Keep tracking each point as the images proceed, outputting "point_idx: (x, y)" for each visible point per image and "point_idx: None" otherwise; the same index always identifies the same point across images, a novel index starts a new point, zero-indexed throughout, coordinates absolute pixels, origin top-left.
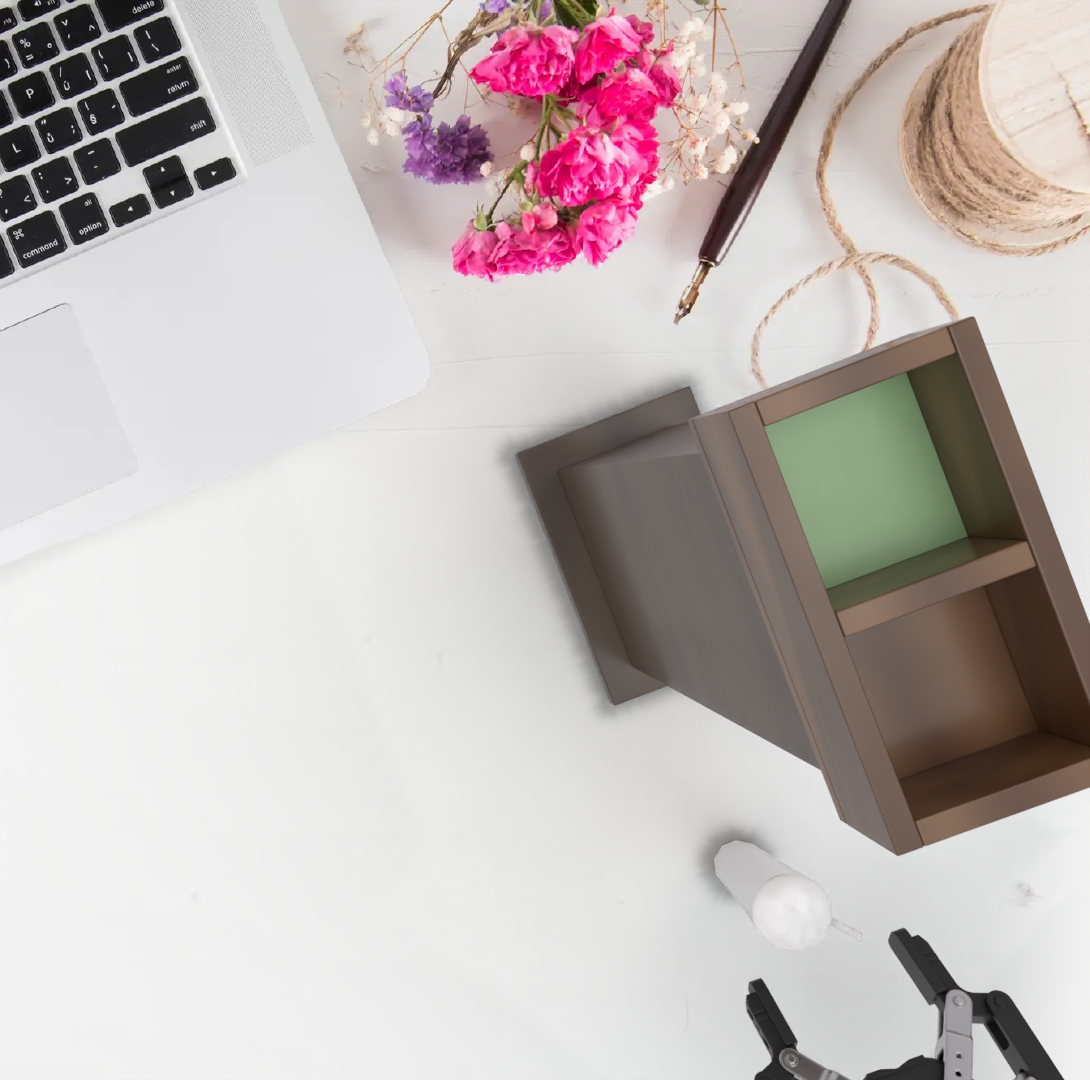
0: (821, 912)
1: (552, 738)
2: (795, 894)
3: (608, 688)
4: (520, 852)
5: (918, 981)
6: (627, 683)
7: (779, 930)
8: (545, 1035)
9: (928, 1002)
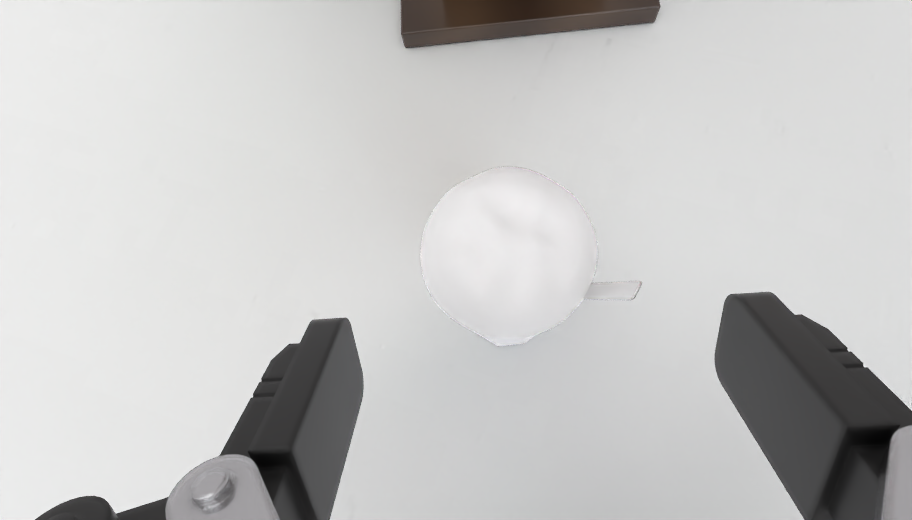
0: (563, 243)
1: (316, 73)
2: (515, 187)
3: (401, 12)
4: (211, 203)
5: (782, 433)
6: (427, 11)
7: (452, 252)
8: (112, 497)
9: (807, 512)
